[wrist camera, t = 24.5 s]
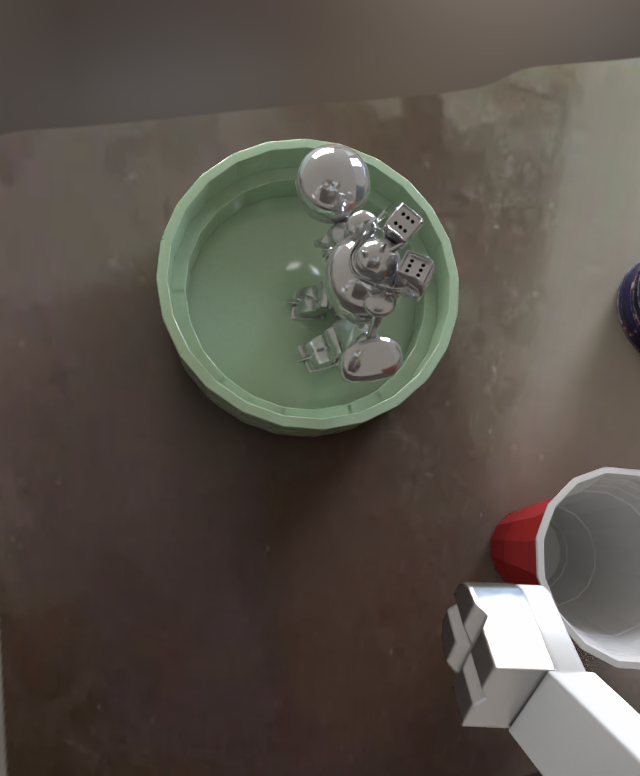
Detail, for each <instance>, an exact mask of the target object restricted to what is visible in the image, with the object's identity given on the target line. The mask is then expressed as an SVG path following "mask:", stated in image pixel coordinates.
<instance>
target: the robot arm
mask: <svg viewBox="0 0 640 776" xmlns="http://www.w3.org/2000/svg"><path fill="white" fill-rule="evenodd" d="M454 595H455V598H456V602H457V604H455V605H453V606H452V607H450V608H449V609H447V612H446V614H445V617H444V619H443V624H442V645H443V651H444V656H445V660H446V663H447V664H448V665H449V666H450V667H451V668H452V669H453V671H454V672H455V673H456V674H457V678H456V680H455V682H454V685H453V687H452V688H453V692H454V696H455V700H456V704H457V707H458V711H459V715H460V719H461V723H462V726H473V727H496V728H510V729H509V730H508V731H509V732H510V734H511V735H512V736H513V737H514V739H515V740H516V741H517V743H518V744H519V745H520V747H521V748H522V749H523V750H524V752H525V753H526V754H527V756H528V757H529V758H530V760H531V761H532V762H533V764H534V765H535V766H536V767H537V769H538V770H539V771H540V773H541V774H542V775H543V776H640V714H639V713H637V712H636V711H635V710H634V709H633V708H632V707H631V706H630V705H629V704H628V703H627V702H626V701H624V700H623V699H622V698H621V697H620V696H619V695H618V694H617V693H616V692H615V691H614V690H613V689H611V688H610V687H609V686H608V685H607V684H606V683H605V682H604V681H603V680H602V679H601V678H599V677H598V676H597V675H596V674H595V673H593V672H586V671H585V668H584V666H583V664H582V662H581V660H580V658H579V655H578V653H577V651H576V649H575V647H574V645H573V642H572V640H571V638H570V636H569V634H568V632H567V629H566V627H565V625H564V623H563V621H562V619H561V616H560V614H559V612H558V610H557V608H556V606H555V603H554V601H553V599H552V597H551V595H550V593H549V591H548V590H547V589H546V588H545V587H544V586H540V585H519V584H516V585H515V584H513V583H487V582H462V583H461V584H459V585H458V587H457V589H456V591H455V594H454Z"/></svg>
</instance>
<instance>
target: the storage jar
mask: <svg viewBox="0 0 640 776" xmlns="http://www.w3.org/2000/svg"><path fill="white" fill-rule="evenodd" d="M617 310H618V316H619V320H620V323H621V326H622V328H623V330H624V332H625V334H626V336H627V337H628V339H629V340H630V342H631V343H632V344H633V345H634V347H635V348H636V349H637V350H638V351H640V263H638V264H636V265H635V266H634V267H633V268H631V269H630V270H629V271H628V273H627V274H626V275H625V277H624V278H623V280H622V282H621V284H620V287H619V290H618V296H617Z"/></svg>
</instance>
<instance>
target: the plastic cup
mask: <svg viewBox="0 0 640 776" xmlns="http://www.w3.org/2000/svg"><path fill="white" fill-rule="evenodd" d="M491 557H492V559H493V562H494V565H495V568H496V570H497V571H498V573H499V574H500V575H501V577H502V578H503V579H504V580H505V581H506V583H513V584H515V585H516V584H519V585H540V586H544V587H545V588H546V589H547V590H548V591H549V593H550V595H551V597H552V599H553V601H554V603H555V606H556V608H557V610H558V612H559V614H560V616H561V619H562V621H563V623H564V625H565V627H566V629H567V632H568V634H569V636H570V637H571V638H572V639H573V640H574V642H575V643H576V644H577V645H578V646H579V647H580V648H581V649H582V650H584V651H586V652H588V653H590V654H592V655H594V656H596V657H597V658H599V659H601V660H603V661H605V662H607V663H609V664H611V665H613V666H615V667H617V668H627V669H640V471H639V470H633V469H622V468H611V467H603V468H600V469H597V470H594V471H592V472H589V473H586V474H583V475H581V476H578V477H575V478H573V479H572V480H571V481H570V482H569V483H568V484H567V485H566V486H565V487H564V488H563V489H562V490H561V491H560V492H559V493H558V494H557V495H556V496H555V497H554V498H552V499H549V500H546V501H543V502H540V503H538V504H535V505H532V506H529V507H527V508H524V509H521V510H519V511H516V512H513V513H510V514H509V515H508V516H506V517H505V518H504V519H503V520H502V521H501V522H500V523H499V524H498V525H497V527H496V529H495V532H494V534H493V536H492V539H491Z"/></svg>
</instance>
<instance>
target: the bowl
mask: <svg viewBox="0 0 640 776" xmlns="http://www.w3.org/2000/svg"><path fill="white" fill-rule="evenodd" d="M326 144H336V143H330V142H323V141H317V140H310V139H297V140H286V141H274V142H268V143H267V142H266V143H263V144H260V145H257V146H254V147H251V148H249V149H246V150H243V151H240V152H237V153H234V154H232V155H230V156H229V157H228V158H226V159H225V160H223V161H222V162H220V163H219V164H217V165H216V166H214V167H213V168H211V169H210V170H209V171H207V172H206V173H204V174H203V175H201V176H200V177H199V178H198V180H197V181H196V182H195V183H194V184H193V186H192V187H191V188H190V189H189V190H188V192H187V193H186V194H185V195H184V196H183V198H182V199H181V200H180V201H179V202H178V204H177V205H176V207H175V209H174V211H173V214H172V216H171V218H170V221H169V223H168V225H167V227H166V230H165V232H164V234H163V236H162V239H161V243H160V251H159V259H158V266H157V274H156V282H157V288H158V295H159V301H160V307H161V314H162V318H163V321H164V324H165V326H166V329H167V332H168V334H169V337H170V339H171V341H172V344H173V346H174V348H175V350H176V352H177V354H178V357H179V359H180V361H181V363H182V365H183V367H184V370H185V371H186V373H187V374H188V375H189V376H190V377H191V379H192V380H193V381H194V382H195V383H196V384H197V386H198V387H199V388H200V389H201V390H202V392H203V393H204V394H205V395H206V396H207V397H208V399H210V401H212V402H213V403H215V404H216V405H218V406H219V407H220V408H222V409H223V410H225V411H226V412H228V413H229V414H231V415H232V416H234V417H235V418H236V419H238V420H239V421H242V422H244V423H247V424H249V425H252V426H255V427H258V428H261V429H263V430H266V431H269V432H272V433H275V434H276V433H277V434H281V435H294V436H306V437H317V436H322V435H328V434H333V433H339V432H344V431H349V430H351V429H353V428H355V427H357V426H360V425H362V424H364V423H366V422H368V421H370V420H372V419H374V418H376V417H378V416H380V415H382V414H384V413H386V412H388V411H389V410H391V409H393V408H395V407H397V406H398V405H400V404H401V403H402V402H403V401H404V400H406V399H407V398H408V397H409V396H410V395H411V394H412V393H413V392H415V391H416V390H417V389H418V388H419V387H420V386H421V385H422V384H424V383H425V382H426V381H427V380H428V378H429V377H430V375H431V374H432V372H433V371H434V369H435V367H436V366H437V364H438V363H439V361H440V360H441V358H442V356H443V355H444V353H445V352H446V350H447V348H448V345H449V341H450V338H451V335H452V331H453V328H454V325H455V321H456V318H457V313H458V283H459V278H458V272H457V268H456V264H455V260H454V256H453V252H452V247H451V243H450V242H449V241H450V240H449V238H448V236H447V235H446V233H445V231H444V229H443V227H442V225H441V223H440V221H439V219H438V217H437V216H436V214H435V212H434V210H433V209H432V207H431V206H430V205H429V203H428V202H427V201H426V200H425V199H424V198H423V197H422V196H421V194H420V193H419V192H418V191H417V190H416V189H415V188H414V186H413V185H412V184H411V183H410V182H409V181H408V180H407V179H405V178H404V177H403V176H401V175H400V174H398V173H397V172H395V171H394V170H393V169H391V168H390V167H388V166H387V165H386V164H384V163H383V162H381V161H380V160H378V159H376V158H374V157H372V156H369V155H367V154H364V153H362V152H359V151H357V150H354V149H352V148H351V149H352V150H354V151H355V152H356V153H357V154H359V156H360V157H361V158H362V159H363V160H364V162H365V164H366V165H367V168H368V170H369V173H370V178H371V191H370V195H369V198H368V201H367V203H366V205H365V206H364V208H363V209H362V210H367V211H370V212H371V213H373V214H374V215H375V216H376V218H377V217H378V216H379V215H380V214H381V213H382V212H383V211H384V209H385V208H386V207H387V206H388V207H387V208H386V210H385V211H384V212H383V213H382V214H381V216H382V215H383V214H384V213H385V212H386V211H387V212H386V213H385V214H384V215H383V216H382V217H381V216H380V217H381V218H380V219H379V220H381V219H382V218H383V217H385V216H386V215H387V216H386V217H385V218H384V219H382V220H381V221H380V222H379V223H378V227H379V228H381V229H382V228H383V226H384V225H385V223H386V221H387V219H388V218H389V217H390V216H391V214H392V213H393V212H394V211H395V210H396V208H397V207H398V206H399V205H400V204H401V203H402V202H403V203H405V204H406V205H407V206H408V207H410V208H411V209H412V210H413V211H414V212H416V213H417V214H418V215H419V216H420V217H422V218H423V220H424V222H423V225H422V227H421V229H420V230H419V231H418V232H417V233H416V235H415V236H414V237H413V238H412V239H411V241H410V242H409V243H408V244H407V245H406V247H405V248H403V249H402V250H399V249H398V250H399V252H400V255H401V260H402V259H403V257H404V255H405V253H406V251H407V250H410V251H413V252H415V253H418V254H421V255H424V256H426V257H428V258H430V259H431V260H433V261H434V274H433V276H432V278H431V280H430V282H429V284H428V286H427V288H426V290H425V292H424V294H423V296H422V297H421V299H420V301H419V302H418V303H414V302H411V301H409V300H407V299H404V298H403V297H401V298H400V300H399V302H398V303H397V305H396V308H395V310H394V311H393V312H392V313H391V314H390V315H388V316H386V317H383V318H382V321H381V324H380V327H379V330H378V335H379V336H380V337H383V338H390V339H392V340H395V341H396V342H397V343H398V344H399V346H400V348H401V351H402V356H403V362H402V366H401V368H400V370H399V371H398V372H397V373H396V374H395V375H393V376H392V377H389V378H386V379H383V380H378V381H373V382H366V383H348V382H345V381H343V380H341V378H340V376H339V373H338V370H337V366H334V367H331V368H328V369H325V370H322V371H318V372H315V373H310V372H309V371H308V369H307V367H306V364H305V362H304V361H302V362H298V361H299V360H301V359H303V358H302V356H301V354H300V352H299V350H298V346H300V345H302V344H306V343H307V342H309V341H310V340H312V339H314V338H315V337H317V336H319V335H321V334H322V333H323V332H324V331H325V330H326V329H328V328H329V327H331V326H332V325H333V323H334V322H336V321H337V320H336V319H334V318H333V316H332V312H331V311H328V312H327V315H326V319H325V320H317V321H315V320H294V319H291V318H290V315H291V309H292V304H287V303H285V302H293V299H292V298H291V297H293V294H294V292H295V291H298V290H299V289H301V288H304V287H307V286H313V285H317V284H318V283H319V282H321V281H323V272H324V267H325V263H326V262H325V257H324V258H323V257H322V248H315V247H314V240H316V239H317V238H319V237H320V236H324V235H326V233H327V232H328V229H329V228H330V227H332V226H333V225H334V224H324V223H320V222H318V221H316V220H314V219H313V218H311V217H310V216H309V215H307V214H306V213H305V211H304V210H303V209H302V207H301V206H300V204H299V202H298V199H297V196H296V192H295V178H296V173H297V171H298V168H299V165H300V164H301V162H302V160H303V159H304V158H305V156H306V155H307V154H308V153H310V152H311V151H312V150H314V149H315V148H317V147H320V146H322V145H326ZM339 145H342V144H339ZM379 220H378V221H379ZM375 235H376V236H379V237H381V238H384V236H383V234H382V230H377V232H376V234H375Z"/></svg>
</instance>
